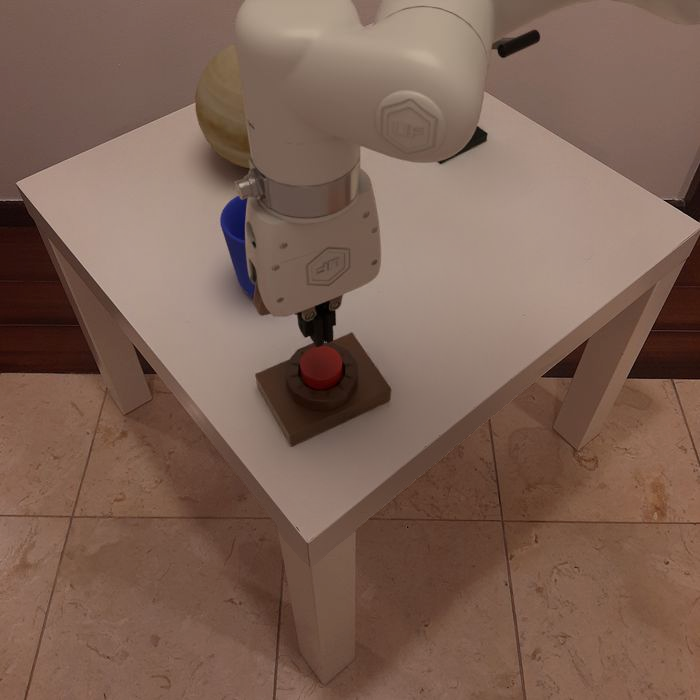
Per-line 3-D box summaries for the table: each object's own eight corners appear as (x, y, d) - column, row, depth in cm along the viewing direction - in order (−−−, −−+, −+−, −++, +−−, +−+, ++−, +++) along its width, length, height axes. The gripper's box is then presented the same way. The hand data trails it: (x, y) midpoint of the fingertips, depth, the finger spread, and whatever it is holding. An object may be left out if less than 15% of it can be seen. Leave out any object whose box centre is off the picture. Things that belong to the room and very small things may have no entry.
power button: (330, 350, 73) (330, 339, 72) (349, 379, 71) (349, 369, 70) (294, 366, 72) (292, 355, 71) (312, 396, 70) (311, 386, 69)
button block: (352, 344, 78) (351, 320, 75) (390, 400, 74) (391, 377, 71) (257, 386, 75) (252, 363, 72) (291, 447, 71) (288, 425, 68)
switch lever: (541, 47, 81) (539, 24, 80) (508, 63, 79) (504, 39, 78) (458, 46, 92) (455, 26, 91) (427, 60, 90) (423, 39, 89)
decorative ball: (190, 140, 99) (167, 35, 87) (292, 108, 103) (283, 4, 91) (231, 208, 91) (211, 102, 79) (340, 171, 95) (337, 65, 83)
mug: (348, 274, 84) (347, 207, 76) (256, 320, 80) (244, 255, 72) (309, 232, 89) (304, 165, 81) (220, 274, 84) (205, 208, 77)
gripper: (229, 241, 48) (259, 397, 63) (425, 169, 52) (410, 331, 67) (188, 175, 52) (224, 336, 67) (373, 112, 56) (369, 277, 71)
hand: (317, 333), depth 67 cm, fingers closed
